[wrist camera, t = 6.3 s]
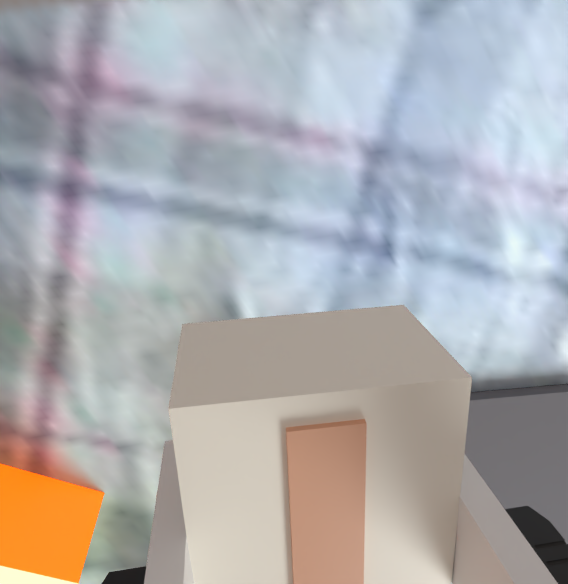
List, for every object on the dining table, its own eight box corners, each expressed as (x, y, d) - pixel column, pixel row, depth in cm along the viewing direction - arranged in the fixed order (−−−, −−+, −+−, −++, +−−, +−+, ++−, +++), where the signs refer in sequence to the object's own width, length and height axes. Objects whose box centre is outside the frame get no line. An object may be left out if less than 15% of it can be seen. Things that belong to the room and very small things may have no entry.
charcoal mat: (300, 586, 34) (302, 597, 33) (298, 407, 29) (300, 415, 28) (577, 551, 36) (584, 560, 35) (619, 379, 31) (628, 386, 30)
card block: (213, 577, 16) (211, 723, 12) (182, 323, 13) (167, 413, 9) (392, 553, 17) (444, 684, 13) (403, 304, 14) (475, 380, 10)
